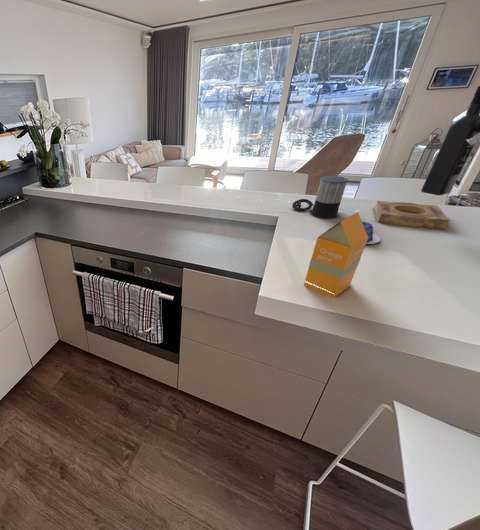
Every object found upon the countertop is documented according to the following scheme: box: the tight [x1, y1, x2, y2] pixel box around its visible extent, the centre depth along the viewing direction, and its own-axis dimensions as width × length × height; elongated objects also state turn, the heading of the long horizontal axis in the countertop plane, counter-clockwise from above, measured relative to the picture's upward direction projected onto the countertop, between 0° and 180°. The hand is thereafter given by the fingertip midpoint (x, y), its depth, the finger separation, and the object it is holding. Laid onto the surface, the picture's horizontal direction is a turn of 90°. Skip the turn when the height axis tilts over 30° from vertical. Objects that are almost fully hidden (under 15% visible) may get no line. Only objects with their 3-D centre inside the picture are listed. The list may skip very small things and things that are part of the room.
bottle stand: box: [374, 200, 450, 230], centre depth 109 cm, size 18×17×4 cm
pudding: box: [362, 221, 381, 245], centre depth 98 cm, size 12×12×5 cm
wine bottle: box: [420, 85, 480, 196], centre depth 86 cm, size 6×6×30 cm
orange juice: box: [303, 212, 368, 299], centre depth 73 cm, size 8×9×20 cm
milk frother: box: [292, 175, 349, 219], centre depth 118 cm, size 14×16×15 cm
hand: (457, 140), depth 86 cm, fingers closed on wine bottle, 7 cm apart
